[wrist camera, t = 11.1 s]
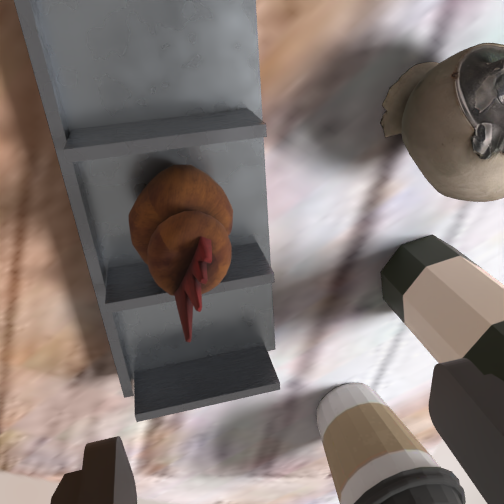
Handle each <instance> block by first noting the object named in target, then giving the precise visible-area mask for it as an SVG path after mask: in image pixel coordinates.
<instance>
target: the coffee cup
mask: <svg viewBox="0 0 504 504" xmlns="http://www.w3.org/2000/svg"><path fill="white" fill-rule="evenodd" d="M316 416H317V425H318V429H319V432H320V436H321V439H322V443H323V446H324V450H325V453H326V457H327V460H328V464H329V467H330V471H331V474H332V478H333V481H334V485H335V488H336V492H337V495H338V498H339V502H340V504H465V494H464V490H463V488H462V487H461V486H460V484H459V479H458V478H457V477H456V476H455V475H454V474H453V473H452V472H451V471H449V470H446V469H443V468H441V467H440V466H439V464H438V463H437V462H436V461H435V460H434V459H433V457H432V456H431V455H430V454H429V453H428V452H427V451H426V449H425V448H424V447H423V446H422V445H421V444H420V442H419V441H418V440H417V439H416V438H415V437H414V435H413V434H412V433H411V432H410V431H409V430H408V428H407V427H406V426H405V425H404V424H403V423H402V421H401V420H400V419H399V418H398V417H397V416H396V414H395V413H394V412H393V411H392V410H391V409H390V408H389V406H388V405H387V404H386V403H385V402H384V401H383V399H382V398H381V397H380V396H379V395H378V394H377V393H376V392H375V391H374V390H372V389H371V388H370V387H369V386H367V385H365V384H363V383H348V384H344V385H341V386H339V387H337V388H334V389H333V390H332V391H330V392H329V393H328V394H326V395H325V397H324V398H323V399H322V400H321V401H320V403H319V405H318V408H317V414H316Z"/></svg>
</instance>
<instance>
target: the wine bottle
mask: <svg viewBox="0 0 504 504" xmlns="http://www.w3.org/2000/svg"><path fill="white" fill-rule="evenodd" d="M381 282H382V293H383V299H384V300H385V301H386V303H387V304H388V305H389V306H390V307H391V308H392V310H393V311H394V312H395V313H396V314H397V315H398V316H399V318H400V319H401V320H402V321H403V322H404V323H405V325H406V326H407V327H408V328H409V329H410V330H411V332H412V333H413V334H414V335H415V336H416V337H417V339H418V340H419V341H420V342H421V343H422V344H423V346H424V347H425V348H426V349H427V350H428V351H429V352H430V354H431V355H432V356H433V357H434V358H435V359H436V361H437V362H438V363H443V362H448V361H452V360H456V359H461V358H467V359H469V360H470V361H471V362H472V363H473V364H474V365H475V366H476V367H477V368H478V369H479V370H480V371H481V372H482V374H483V375H487V374H493V375H494V376H496V377H498V378H500V379H501V380H503V381H504V285H503V284H502V283H500V282H499V281H498V280H496V279H495V278H494V277H493V276H491V275H490V274H489V273H487V272H486V271H485V270H483V269H482V268H481V267H479V266H478V265H477V264H475V263H474V262H473V261H471V260H470V259H469V258H467V257H466V256H465V255H463V254H462V253H461V252H459V251H458V250H457V249H455V248H454V247H452V246H450V245H449V244H447V243H446V242H444V241H442V240H441V239H439V238H437V237H436V236H434V235H430V236H427V237H424V238H421V239H418V240H415V241H412V242H409V243H406V244H402V245H401V246H400V247H399V249H398V250H397V251H396V252H395V254H394V255H393V256H392V258H391V259H390V260H389V262H388V263H387V264H386V266H385V267H384V268H383V270H382V271H381Z"/></svg>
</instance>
